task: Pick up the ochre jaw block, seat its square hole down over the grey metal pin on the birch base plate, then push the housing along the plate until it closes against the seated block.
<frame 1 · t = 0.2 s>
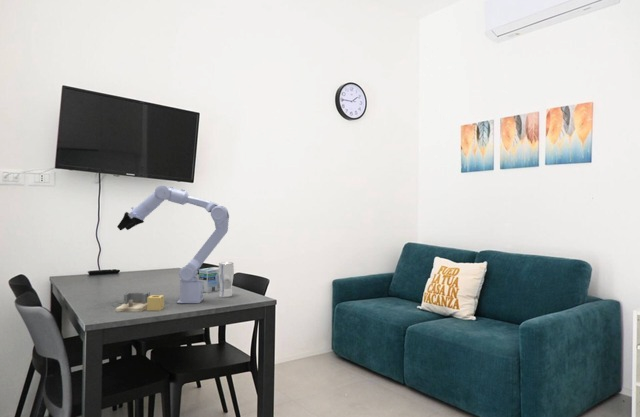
hand: (122, 228, 185), 31 cm above the table, tool tilted 45°, fingers open, 7 cm apart
jaw block: (155, 309, 173), on the table
housing: (136, 297, 178), point 3 cm above the table, slide at 0.0 cm
light bulb box: (211, 291, 213), on the table
beer glass: (225, 296, 200), on the table
base plate: (134, 307, 175), on the table
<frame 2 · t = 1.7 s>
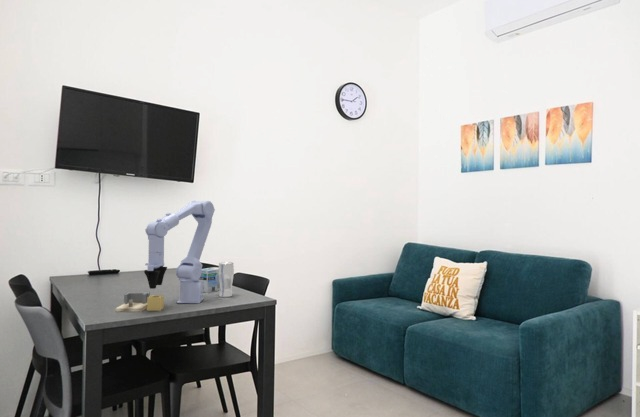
hand: (155, 286, 173), 9 cm above the table, tool pointing down, fingers open, 7 cm apart
nothing on the table moved.
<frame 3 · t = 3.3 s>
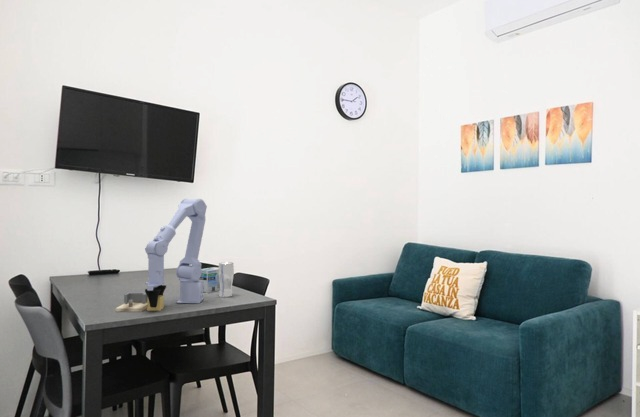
hand: (155, 305, 173), 1 cm above the table, tool pointing down, fingers closed on jaw block, 5 cm apart
jaw block: (155, 309, 173), on the table, touching gripper
everything else where it was.
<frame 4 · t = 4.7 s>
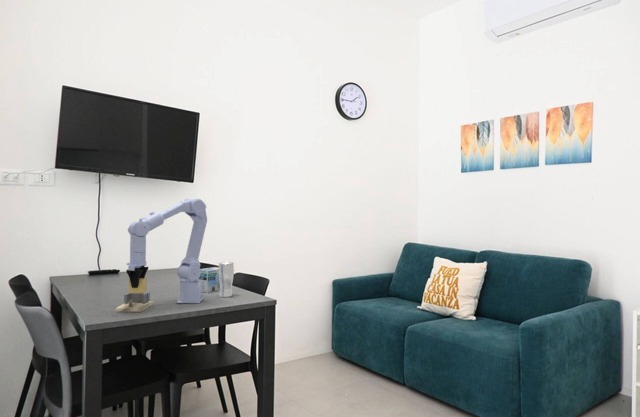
hand: (137, 286, 172), 9 cm above the table, tool pointing down, fingers closed on jaw block, 5 cm apart
jaw block: (137, 291, 172), point 7 cm above the table, touching gripper
everything else where it was.
when the fingers open (4 cm above the table, at t = 6.4 s): jaw block stays where it is, resting on base plate.
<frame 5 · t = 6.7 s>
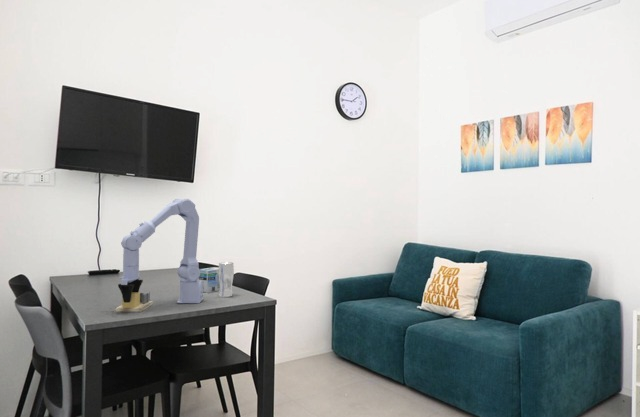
hand: (130, 300, 172), 4 cm above the table, tool pointing down, fingers open, 7 cm apart
jaw block: (131, 306, 172), point 1 cm above the table, touching base plate
everything else where it was.
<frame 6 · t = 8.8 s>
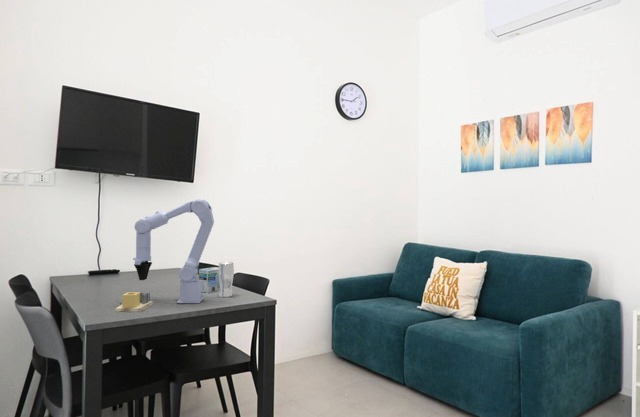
hand: (143, 279, 186), 9 cm above the table, tool pointing down, fingers closed
nothing on the table moved.
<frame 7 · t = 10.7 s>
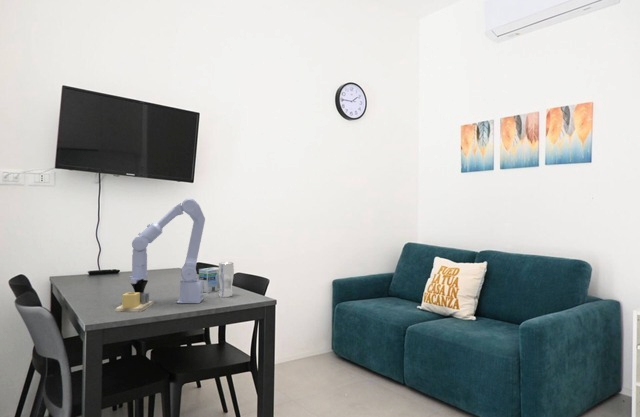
hand: (139, 298, 181), 2 cm above the table, tool pointing down, fingers closed
housing: (135, 298, 178), point 3 cm above the table, slide at 0.7 cm, touching gripper
everything else where it was.
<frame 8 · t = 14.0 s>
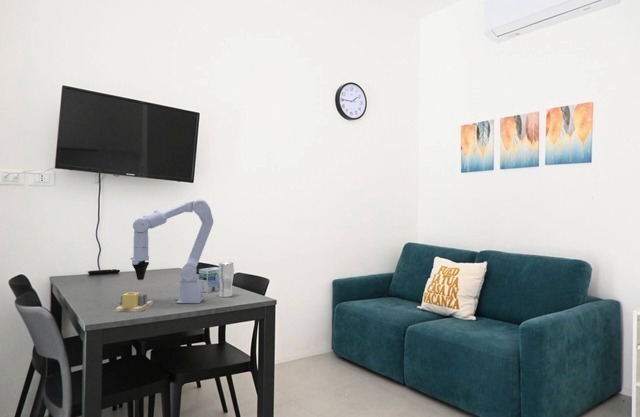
hand: (140, 279, 183), 10 cm above the table, tool pointing down, fingers closed
housing: (133, 299, 175), point 3 cm above the table, slide at 3.5 cm
everything else where it was.
at the end: jaw block 0.2 cm from the target spot, point 1.2 cm above the table; jaw block tilted 0°; housing slide at 3.5 cm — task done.
